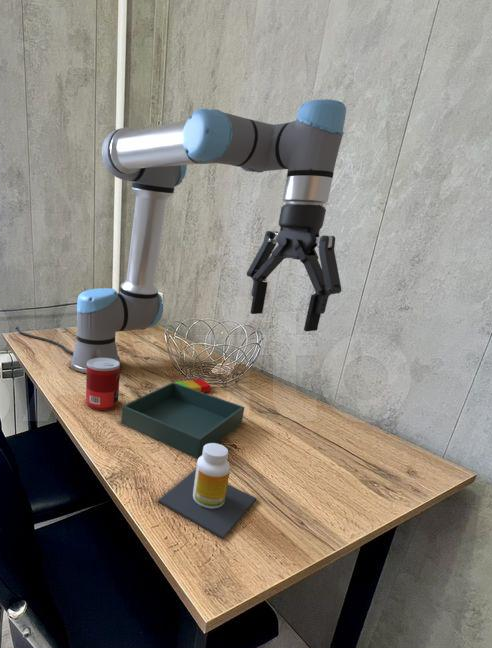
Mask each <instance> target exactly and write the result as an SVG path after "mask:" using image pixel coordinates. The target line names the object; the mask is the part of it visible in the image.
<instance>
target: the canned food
mask: <svg viewBox="0 0 492 648" xmlns="http://www.w3.org/2000/svg"><path fill="white" fill-rule="evenodd" d="M120 375H121V362H120V363H119V362H118V361H117V360H114V359H110V358H94V359H90V360H89V361H87V373H86V379H85V380H86V381H85V383H86V385H85V386H86V387H85V402H86V405H87V407H89V408H90V409H93V410H96V411H109V410H113V409H115V408H116V407H117V406H118V403H119V393H120V392H119V391H120Z"/></svg>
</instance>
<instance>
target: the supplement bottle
mask: <svg viewBox="0 0 492 648" xmlns="http://www.w3.org/2000/svg"><path fill="white" fill-rule="evenodd" d="M202 454H203V455H202V456H200V457H199V458H198V459H197V461H196V466H195V470H196V473H195V481H194V488H193V498H194V500H195V502H196V503H198V504H199V505H200V506H202V507H205V508H209V509H215V508H219V507H221V506H222V505H223V504H224V502H225V497H226V491H227V484H228V483H229V478H230V471H231V463H230V462H229V460H228V458H229V450H228V448H227V447H226V446H225V445H223V444H220V443H209V444H206V445H205V446H204V447H203V452H202ZM228 485H229V484H228Z"/></svg>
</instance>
